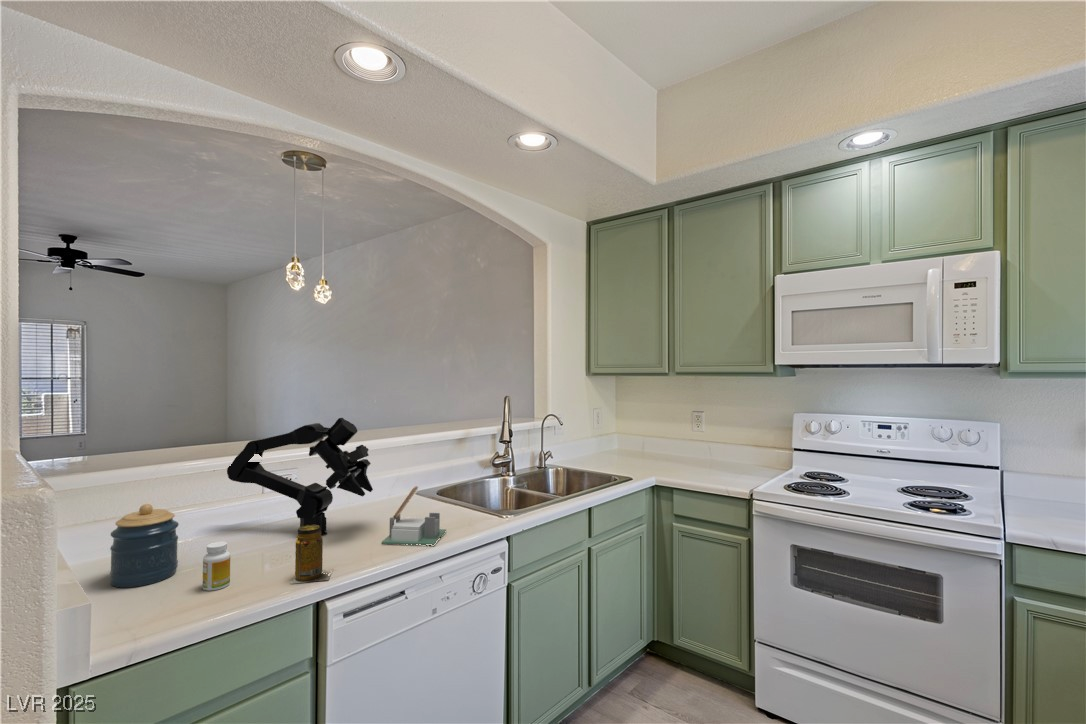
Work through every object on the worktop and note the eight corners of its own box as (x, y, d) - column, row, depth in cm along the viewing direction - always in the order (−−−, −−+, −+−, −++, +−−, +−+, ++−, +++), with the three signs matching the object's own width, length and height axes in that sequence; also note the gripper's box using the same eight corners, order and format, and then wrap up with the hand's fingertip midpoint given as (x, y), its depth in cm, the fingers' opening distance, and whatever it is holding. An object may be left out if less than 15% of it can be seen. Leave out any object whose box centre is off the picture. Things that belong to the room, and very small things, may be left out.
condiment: (297, 572, 125) (297, 524, 126) (333, 569, 127) (334, 521, 128) (290, 584, 118) (290, 533, 118) (328, 581, 120) (329, 530, 121)
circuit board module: (381, 544, 145) (381, 520, 145) (398, 530, 158) (398, 508, 158) (433, 546, 144) (434, 521, 144) (446, 531, 157) (446, 509, 157)
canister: (107, 576, 122) (108, 503, 122) (172, 562, 131) (174, 494, 131) (112, 594, 113) (113, 515, 113) (182, 577, 122) (183, 504, 122)
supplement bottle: (234, 581, 120) (235, 540, 120) (221, 591, 114) (221, 548, 115) (211, 581, 120) (212, 540, 120) (197, 591, 114) (197, 548, 114)
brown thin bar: (390, 519, 150) (412, 488, 150) (394, 516, 153) (416, 485, 153) (393, 521, 150) (415, 490, 150) (397, 518, 153) (418, 487, 153)
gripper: (336, 441, 144) (373, 481, 143) (364, 433, 163) (397, 468, 162) (309, 469, 145) (346, 508, 144) (341, 457, 163) (373, 492, 162)
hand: (368, 493), depth 153 cm, fingers open, 5 cm apart
